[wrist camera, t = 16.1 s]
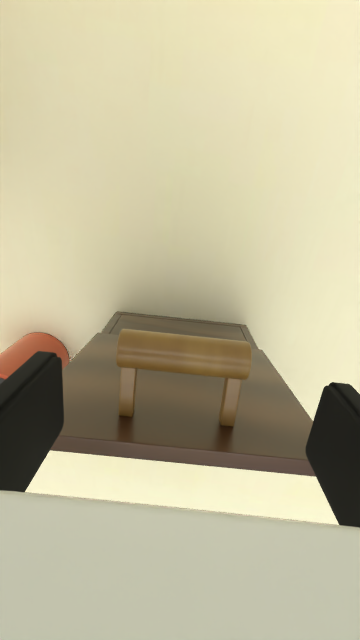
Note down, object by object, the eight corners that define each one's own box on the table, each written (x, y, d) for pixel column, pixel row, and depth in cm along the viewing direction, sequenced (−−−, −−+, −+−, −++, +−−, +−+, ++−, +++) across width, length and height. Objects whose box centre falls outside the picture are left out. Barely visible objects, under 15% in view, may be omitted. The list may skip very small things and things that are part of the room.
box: (227, 420, 37) (236, 463, 31) (113, 409, 37) (97, 449, 31) (246, 324, 33) (260, 351, 27) (116, 311, 33) (98, 334, 26)
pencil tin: (8, 365, 36) (-49, 413, 27) (26, 322, 34) (-29, 359, 25) (57, 388, 37) (17, 442, 28) (77, 348, 35) (41, 392, 26)
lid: (339, 479, 13) (370, 372, 12) (4, 446, 13) (-2, 334, 11) (260, 358, 26) (270, 302, 25) (97, 341, 26) (99, 284, 25)
